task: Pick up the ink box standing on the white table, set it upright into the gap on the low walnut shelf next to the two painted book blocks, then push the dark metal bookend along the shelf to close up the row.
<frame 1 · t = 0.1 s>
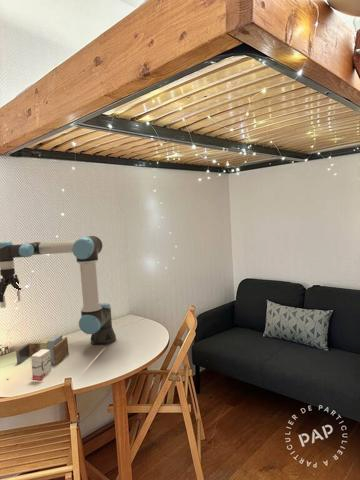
hand: (10, 304, 193), 28 cm above the table, fingers open, 13 cm apart
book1: (56, 360, 175), point 1 cm above the table, touching shelf
ink box: (42, 376, 159), on the table
bookend: (23, 353, 177), point 5 cm above the table, slide at 0.0 cm
book2: (49, 360, 175), point 1 cm above the table, touching shelf
shelf: (42, 362, 176), on the table
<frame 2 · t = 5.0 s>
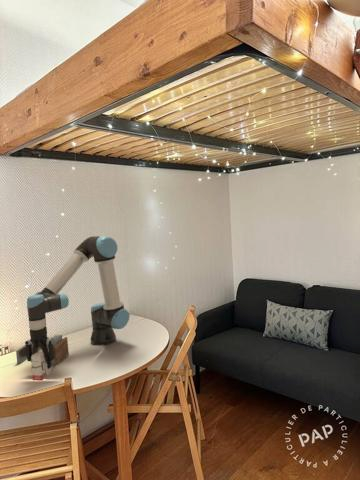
hand: (42, 374, 159), 1 cm above the table, fingers closed on ink box, 5 cm apart
ink box: (42, 376, 159), on the table, touching gripper
everything else where it was.
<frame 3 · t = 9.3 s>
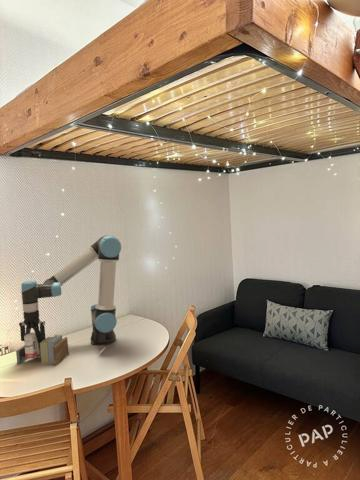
hand: (34, 353, 176), 5 cm above the table, fingers closed on ink box, 5 cm apart
ink box: (34, 355, 176), point 4 cm above the table, touching gripper
book2: (49, 360, 175), point 1 cm above the table, touching gripper, shelf
everything else where it was.
when the fingers open (3 cm above the table, at t = 10.0 s): ink box drops 1 cm, resting on shelf.
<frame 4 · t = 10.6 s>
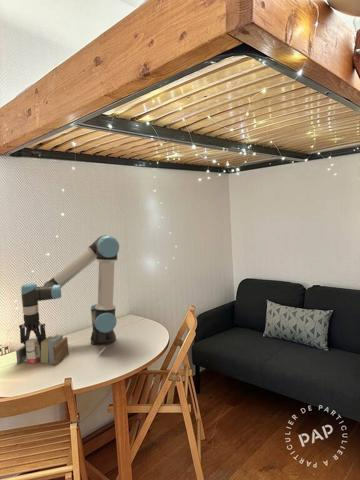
hand: (34, 355, 176), 4 cm above the table, fingers open, 6 cm apart
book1: (56, 360, 175), point 1 cm above the table, touching book2, shelf
ink box: (36, 360, 176), point 1 cm above the table, touching gripper, shelf
book2: (48, 359, 175), point 1 cm above the table, tilted 6°, touching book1, gripper, hand
everything else where it was.
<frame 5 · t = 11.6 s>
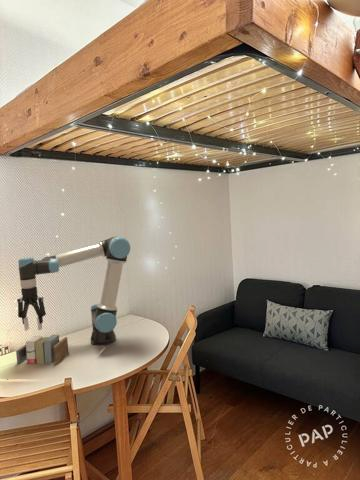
hand: (33, 329, 175), 18 cm above the table, fingers open, 7 cm apart
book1: (52, 359, 175), point 1 cm above the table, touching shelf
ink box: (36, 360, 176), point 1 cm above the table, touching shelf
book2: (44, 360, 175), point 1 cm above the table, touching shelf
everything else where it was.
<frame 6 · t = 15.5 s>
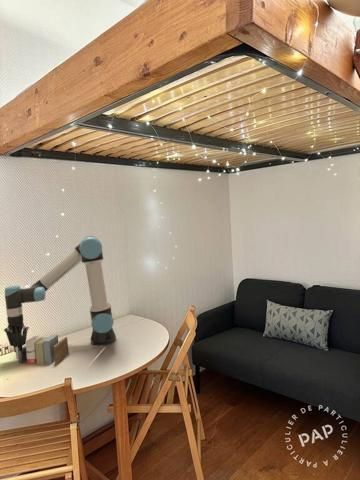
hand: (19, 358, 177), 2 cm above the table, fingers closed
bookend: (25, 353, 177), point 5 cm above the table, slide at 1.1 cm, touching gripper
everything else where it was.
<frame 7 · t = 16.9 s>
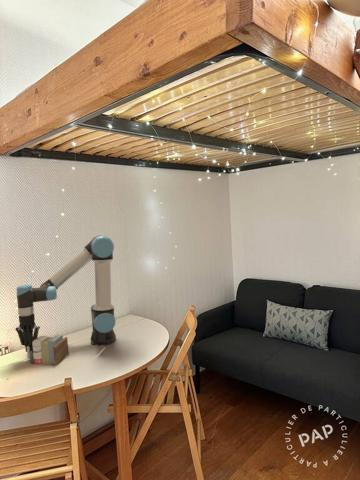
hand: (30, 357, 176), 3 cm above the table, fingers closed
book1: (56, 359, 175), point 1 cm above the table, touching book2, shelf
ink box: (42, 360, 176), point 1 cm above the table, touching book2, bookend, hand, shelf
bookend: (36, 353, 176), point 5 cm above the table, slide at 7.3 cm, touching gripper, ink box
book2: (49, 360, 175), point 1 cm above the table, touching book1, ink box, shelf
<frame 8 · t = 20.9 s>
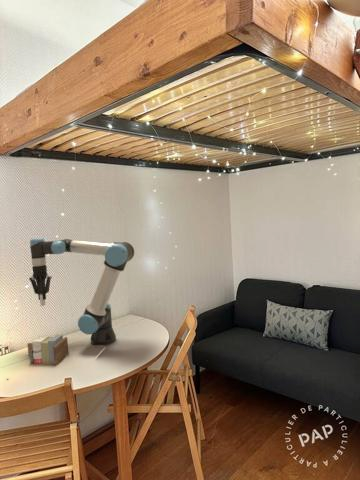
hand: (43, 305, 192), 26 cm above the table, fingers closed
ink box: (42, 360, 176), point 1 cm above the table, touching book2, shelf
bookend: (36, 353, 176), point 5 cm above the table, slide at 7.3 cm
everything else where it was.
at the end: ink box inside the target area (1.5 cm from its centre), point 1.0 cm above the table; ink box tilted 0°; bookend slide at 7.3 cm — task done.
